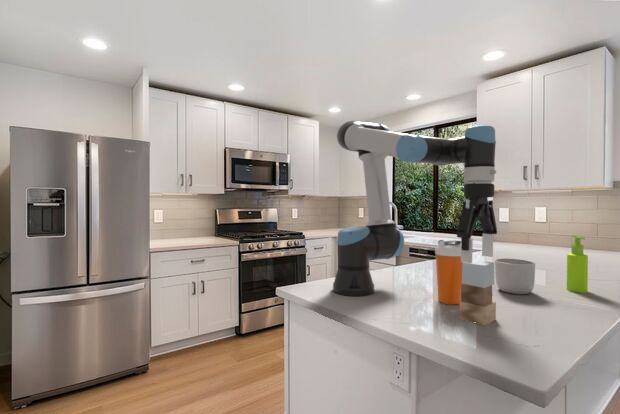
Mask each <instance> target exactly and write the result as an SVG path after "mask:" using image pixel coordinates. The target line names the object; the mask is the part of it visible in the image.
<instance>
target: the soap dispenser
mask: <svg viewBox="0 0 620 414" xmlns="http://www.w3.org/2000/svg"><path fill="white" fill-rule="evenodd" d="M572 237H573V239H574V242H573V244H571V247H570V248H571V251H570V253H567V254H566V290H567V291H568V292H572V293H580V294H584V293H588V291H589V290H588V289H589V288H588V284H589V283H588V280H589V278H588V276H589V273H588V270H589V269H588V267H589V266H588V264H589V256H588V255H587V254H584V244H581V240H585V236H582V235H572Z"/></svg>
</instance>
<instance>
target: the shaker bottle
mask: <svg viewBox="0 0 620 414" xmlns="http://www.w3.org/2000/svg"><path fill="white" fill-rule="evenodd" d="M434 254H435V267H436V270H435V271H436V286H437V287H436V288H437V290H436V291H437V300H439V301H440V302H439V301H438V302H439V303H441V302H443V303H447V304H446V305H449V304H458V305H459V301H461V284H462V262H461V240H447V241H446V240H445V241H444V239H440V240H438V242H437V246H436V247H435V248H434ZM443 303H442V304H443Z"/></svg>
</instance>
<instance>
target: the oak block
mask: <svg viewBox="0 0 620 414" xmlns="http://www.w3.org/2000/svg"><path fill="white" fill-rule="evenodd" d="M458 306H459V312H458V313H459V320H462V319H463V321H466V320H468V321H467V322H469V321H472V322H471V323H473V322H476V323H475V324H477V323H479V324H478V325H481V324H483V325H482V326H485V325H486V326H488V325H490V324H491V323H493V321H494V322H495V319H497V317H496V315H497V313H496V312H497V301H493V300H492V302H491V303H489V304H487V305H486V306H479V305H474V304H470V303H465V302H461V301H459V304H458ZM490 322H491V323H490ZM487 324H488V325H487Z"/></svg>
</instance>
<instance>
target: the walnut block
mask: <svg viewBox="0 0 620 414" xmlns="http://www.w3.org/2000/svg"><path fill="white" fill-rule="evenodd" d="M492 301H493V285H491V286H489V287H486V288H482V287H477V286H471V285H466V284H461V302H465V303H470V304H474V305H479V306H486V305H487V304H489V303H491V302H492Z"/></svg>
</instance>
